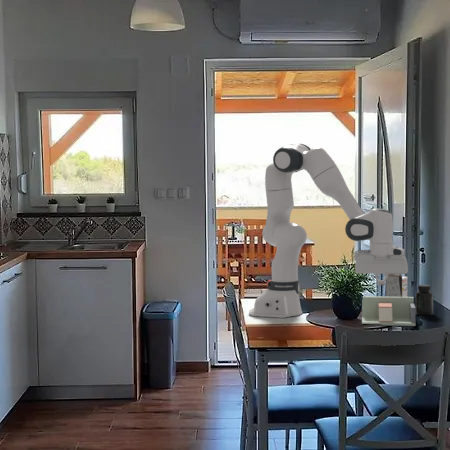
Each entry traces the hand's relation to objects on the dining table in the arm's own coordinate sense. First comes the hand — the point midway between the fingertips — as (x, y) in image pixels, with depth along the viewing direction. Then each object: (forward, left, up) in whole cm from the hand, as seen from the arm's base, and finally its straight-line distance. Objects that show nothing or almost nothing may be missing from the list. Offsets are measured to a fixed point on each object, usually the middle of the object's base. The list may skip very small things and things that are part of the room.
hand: (381, 285), depth 266 cm
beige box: (+1, 0, -14) cm, 14 cm away
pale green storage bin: (+3, 0, -15) cm, 15 cm away
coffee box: (+6, +18, -15) cm, 24 cm away
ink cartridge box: (+9, +39, -15) cm, 43 cm away
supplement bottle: (+18, +16, -15) cm, 28 cm away
